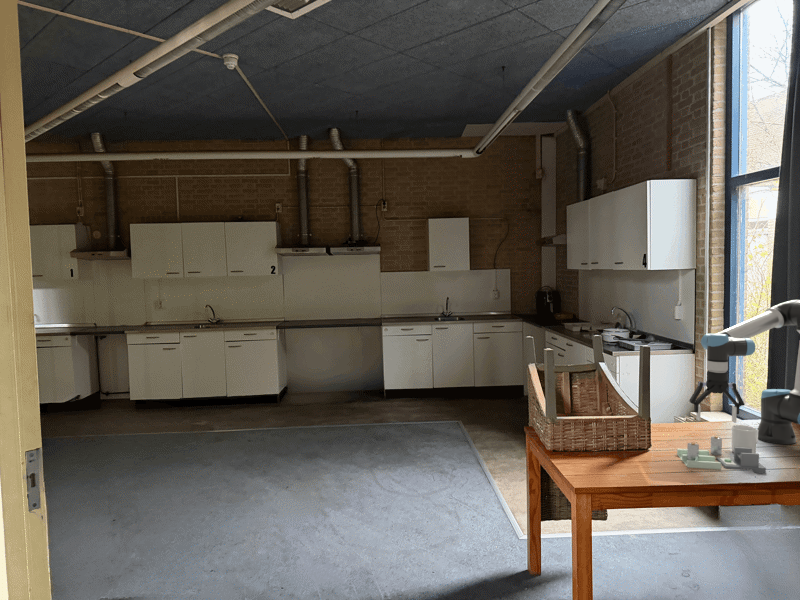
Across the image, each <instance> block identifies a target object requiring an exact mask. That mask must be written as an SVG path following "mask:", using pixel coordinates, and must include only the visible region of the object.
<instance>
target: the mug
mask: <svg viewBox="0 0 800 600" xmlns="http://www.w3.org/2000/svg"><path fill="white" fill-rule="evenodd" d="M757 429H758V428H756V427H753V426H750V425H745V424H733V425H732V426H731V451H732V452H733V453H734V447H742V448H752V453H757V444H758V442H759V439H758V431H759V430H757Z"/></svg>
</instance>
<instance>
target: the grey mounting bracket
mask: <svg viewBox="0 0 800 600" xmlns="http://www.w3.org/2000/svg"><path fill="white" fill-rule="evenodd" d="M737 454H741V459H740V458H739V457H738V456H737ZM716 460H717V462H721V466H722V467H724V468H725V469H730V470H731V469H733V470H751V471H752V472H753V473H755V474H767V473H766V472H767V470H766V469H767V468H766V467H765V466H764V465H763V464H761V463H760V462H759V461H760V454H759V453H758V452H756V453H752V448H742V447H734V452H733V457H720V456H719V457H718V456H717V457H716Z"/></svg>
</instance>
